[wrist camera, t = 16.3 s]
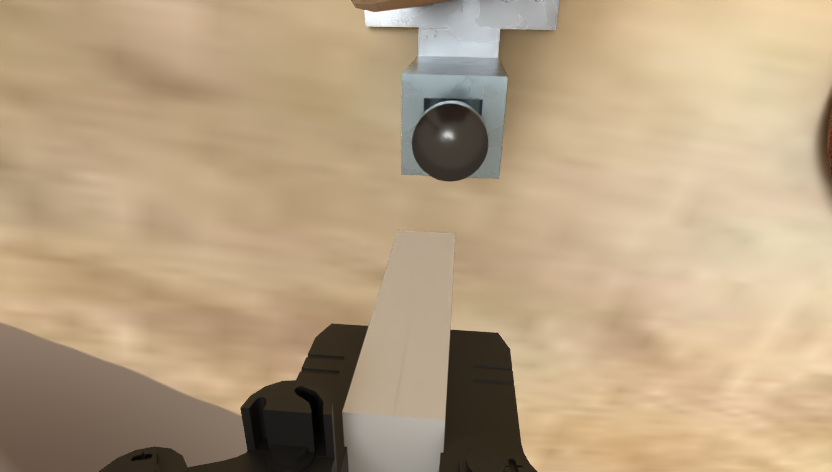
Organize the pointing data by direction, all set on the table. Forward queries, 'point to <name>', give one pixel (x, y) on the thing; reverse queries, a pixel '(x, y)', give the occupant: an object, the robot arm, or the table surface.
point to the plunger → (450, 140)
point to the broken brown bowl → (830, 140)
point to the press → (461, 62)
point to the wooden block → (391, 4)
